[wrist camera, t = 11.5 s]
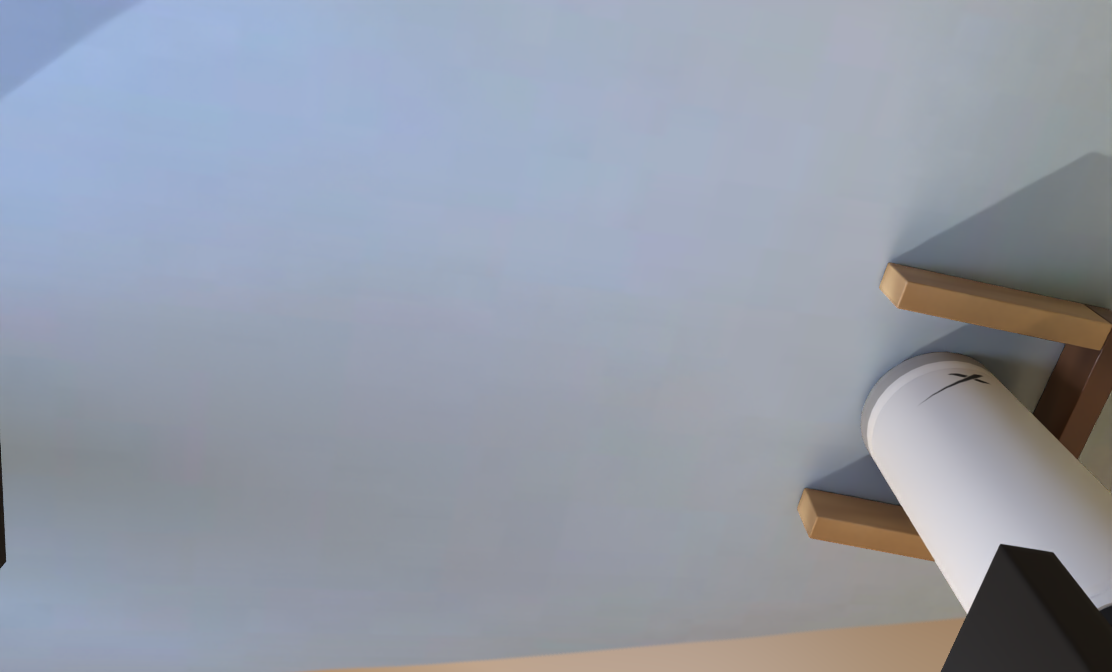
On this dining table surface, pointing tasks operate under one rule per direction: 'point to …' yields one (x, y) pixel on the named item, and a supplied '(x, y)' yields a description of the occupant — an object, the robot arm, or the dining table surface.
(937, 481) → the travel mug
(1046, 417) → the frame
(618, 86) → the dining table surface
